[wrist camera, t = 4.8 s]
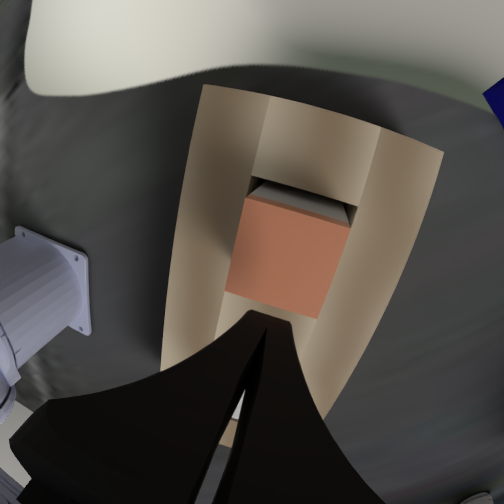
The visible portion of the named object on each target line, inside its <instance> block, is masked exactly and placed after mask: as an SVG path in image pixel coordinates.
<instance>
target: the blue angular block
mask: <svg viewBox="0 0 504 504" xmlns="http://www.w3.org/2000/svg"><path fill="white" fill-rule="evenodd" d="M482 95H483V96H484V98H485V99H486V101H487V103H488V104H489V106H490V108H491V110H492V111H493V113H494V114H496V116H497V117H498V119H499V121H500V123H501V125H502V127H503V128H504V77H503V78H502V79H501V80H499V81H498V82H497V83H495V84H494V85H493V86H491V87H490V88H489V89H487V90H486V91H485V92H483V93H482Z"/></svg>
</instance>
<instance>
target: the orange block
mask: <svg viewBox="0 0 504 504" xmlns="http://www.w3.org/2000/svg"><path fill="white" fill-rule="evenodd" d="M350 230H351V228H350V225H349V222H348V218H347V215H346V212H345V209H344V206H343V203H342V201H339V200H336V199H333V198H330V197H326V196H323V195H320V194H316V193H313V192H310V191H306V190H303V189H299V188H296V187H292V186H289V185H285V184H282V183H278V182H275V181H271V180H267V181H266V182H265V183H264V184H262V185H261V186H260V187H258V188H257V189H256V190H254V191H253V192H252V193H251V194H249V195H248V196H247V197H245V201H244V205H243V209H242V214H241V218H240V223H239V227H238V231H237V236H236V240H235V244H234V249H233V253H232V258H231V262H230V267H229V271H228V276H227V280H226V285H225V289H224V291H226V292H229V293H232V294H235V295H239V296H242V297H245V298H248V299H251V300H254V301H258V302H261V303H264V304H267V305H271V306H274V307H277V308H280V309H284V310H287V311H290V312H294V313H297V314H301V315H304V316H307V317H311V318H314V319H318V316H319V314H320V311H321V309H322V306H323V304H324V301H325V298H326V296H327V293H328V291H329V288H330V285H331V283H332V280H333V278H334V275H335V272H336V269H337V267H338V264H339V261H340V258H341V256H342V253H343V250H344V247H345V244H346V241H347V239H348V236H349V233H350Z"/></svg>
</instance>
